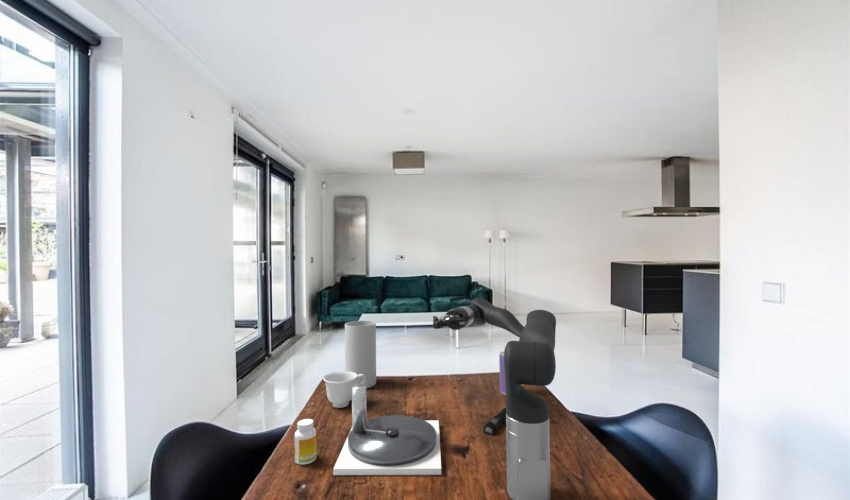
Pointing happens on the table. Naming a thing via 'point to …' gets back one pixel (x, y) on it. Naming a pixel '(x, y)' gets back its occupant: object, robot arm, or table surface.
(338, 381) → the teacup
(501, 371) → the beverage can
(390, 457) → the dial
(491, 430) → the electric trimmer
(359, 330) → the cylinder vase
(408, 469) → the dial base plate
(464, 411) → the table surface
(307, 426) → the supplement bottle
